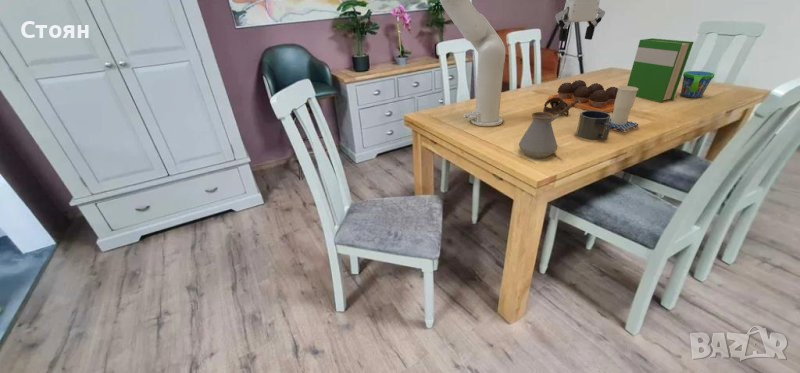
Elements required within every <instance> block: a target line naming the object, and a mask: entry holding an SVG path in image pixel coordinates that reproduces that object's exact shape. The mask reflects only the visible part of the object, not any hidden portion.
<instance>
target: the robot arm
mask: <svg viewBox="0 0 800 373" xmlns="http://www.w3.org/2000/svg"><path fill="white" fill-rule="evenodd" d="M439 3H440V4H441V5H440V6H441V7H442V8H443V10H444V11H445V13H446V15H448V17H449V18H450V20H451V21H452V22H453V24H454V25H455V27H456V28H457V29H458V31H459V32H460V33H461V35H462V37H463V38H464V39H465V40H466V41H467V42H469V43H470V45H472V46H473V48H474V49H475V50H476V52H477V53H478V54H477V74H476V92H475V109H472V111H471V112H470V113H469V112H466V113H463V115H462V116H463V119H468V120H470V123H472V124H473V125H476V126H478V127H496V126H500V125H501V124H502V123H503V118H502V117H501V116H500V110H501V100H502V88H503V78H504V70H505V69H504V68H505V63H506V62H505V61H506V45H505V43H504V41H503V39H502V38H501V37H500V35H499V34H498V33H497V32H496V30H495V29H494V28H493V26H492V25H491V23H490V22H489V21H488V19H487V17H485V15H484V14H482V13H480V12H479V11H478V10H477V8H475V6H474V5H473V3H472V2H471V0H439ZM605 15H606V11H604V10H603V9H601V8H600V0H565V4H564V8H563V10H561V11H559V12H558V13H556V14H555V16H554V17H555V20H556V24H557V25H558V28H559V29H560V30H559V35H558V41H559V42H565V43H566V42H567V38H568V31H569V28H568V27H569V26H570V25H571V24H572V23H580V22H584V23H585V22H587V25H588V26H587V27H586V30H585V34H584V39H585V40H590V41H591V40H593V36H594V33H595V30H596V28H597V27H598V25H599V23H600V22H602V19H603V18H604V16H605Z"/></svg>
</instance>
